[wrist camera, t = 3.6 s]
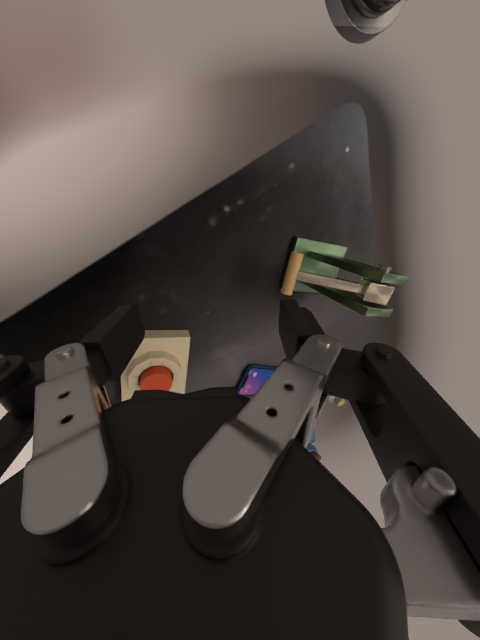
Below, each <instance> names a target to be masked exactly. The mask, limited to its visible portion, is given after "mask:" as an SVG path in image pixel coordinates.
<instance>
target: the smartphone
mask: <svg viewBox="0 0 480 640" xmlns="http://www.w3.org/2000/svg"><path fill="white" fill-rule="evenodd" d="M276 368H277V367H273V366H263V365H249V366H248V367H247V368H246V370H245V372H244V375H243V377H242V379H241V381H240V383H239V385H238V387H237V394H238V395H242V396H253V395H254V394H255V393H256V392H257V391H258V389H259V388H260V387H261V386H262V385H263V383H264V382H265V381H266V380H267V378H268V377H269V376H270V375H271V374H272V372H273V371H274V370H275V369H276Z"/></svg>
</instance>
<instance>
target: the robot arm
mask: <svg viewBox="0 0 480 640" xmlns="http://www.w3.org/2000/svg"><path fill="white" fill-rule="evenodd" d="M353 1H354V3H355V5H356V6H357V8H358V9H359V10H360V11H361V12H362V13H363V14H364V15H366V16H368V17H372V18H376V17H380V16H382V15H384V14H385V13H386V12H388V11H389V10H390V9H391V8H393V7H394V6H395V5H396V4H397V3H398V2H399V1H401V0H353ZM279 334H280V338H281V341H282V344H283V347H284V351H285V354H286V357H287V359H283V360H282V361H281V363H280V364H279V365H278V366H277V368H276V369H275V370H274V371H273V372H272V374H271V375H270V376H269V377H268V378H267V380H266V381H265V382H264V383H263V385H262V386H261V387H260V388H259V389H258V391H257V392H256V393H255V394H254V395H253V397H252V398H248V397H245V396H242V395H238V394H237V387H215V388H208V389H204V390H200V391H196V392H192V393H187V394H181V393H176V392H171V391H166V390H160V389H158V390H135V391H134V393H133V395H132V397H131V399H128V400H125V401H122V402H120V403H117V404H115V405H113V406H111V404H110V401H109V398H108V395H107V392H106V389H105V387H104V384H105V383H106V382H117V381H118V380H119V378H120V377H121V375H122V373H123V372H124V370H125V369H126V367H127V365H128V364H129V362H130V361H131V359H132V357H133V356H134V354H135V352H136V351H137V349H138V348H139V346H140V344H141V343H142V341H143V339H144V337H145V329H144V325H143V322H142V319H141V315H140V312H139V309H138V307H137V306H136V305H120V306H119V307H118V308H117V309H116V310H115V311H114V312H113V313H112V314H111V315H109V316H107V317H105V318H104V319H102V320H101V321H100V322H99V323H98V324H97V326H95V327H94V328H93V330H91V331H90V332H89V333H88V334H87V335H86V336H85V337H84V338H83V339H82V340H81V341H80V342H78V343H72V344H67V345H64V346H61V347H59V348H57V349H55V350H53V351H51V352H50V353H49V354H48V355H47V356H46V357H45V360H44V361H39V362H35V363H30V364H27V362H26V361H25V359H24V358H23V357H22V356H20V355H12V356H7V357H3V358H0V403H1V404H2V405H3V407H4V408H5V409H6V410H7V411H8V413H7V414H6V415H5V416H4V417H3V418H2V419H1V420H0V478H1V476H2V475H3V474H4V472H5V471H6V470H7V468H8V467H9V466H10V464H11V463H12V462H13V461H14V459H15V458H16V457H17V455H18V454H19V453H20V452H21V450H22V449H23V448H24V446H25V445H26V444H27V442H28V441H29V440H30V439H31V437H32V436H33V454H32V458H31V460H30V461H28V462H27V464H26V466H25V468H23V469H22V470H20V471H19V472H17V473H16V474H15V475H13V476H12V477H10V478H9V479H8V480H6V481H5V482H3V483H2V484H1V485H0V640H409V638H408V624H407V616H414V617H429V618H443V619H457V620H458V621H459V622H460V623H461V624H462V625H463V626H465V627H466V628H467V629H468V630H469V631H470V632H472V633H474V634H475V635H476V636H478V637H480V438H479V437H478V436H477V435H476V434H475V433H474V432H473V431H472V430H471V429H470V428H469V427H468V426H467V424H466V423H465V422H464V421H463V420H462V419H461V418H460V417H459V416H458V415H457V413H456V412H455V411H454V410H453V409H452V408H451V407H450V406H449V405H448V404H447V403H446V401H444V400H443V398H442V397H441V396H440V395H439V394H438V393H437V392H436V391H435V390H434V388H433V387H432V386H431V385H430V384H429V383H428V382H427V381H426V380H425V379H424V378H423V376H422V375H421V374H420V373H419V372H418V371H417V370H416V369H415V368H414V367H413V366H412V365H411V364H410V362H409V361H408V360H407V359H406V358H405V357H404V356H403V355H402V354H401V353H400V352H399V351H398V350H396V349H395V348H393V347H391V346H388V345H385V344H381V343H369V344H367V345H365V346H364V348H363V351H362V352H360V351H354V350H348V349H344V348H341V344H340V342H339V341H338V340H336V339H335V338H333V337H330V336H327V335H325V333H324V332H323V330H322V328H321V327H320V325H319V324H318V323H317V320H316V319H315V318H314V315H313V314H312V312H311V311H309V310H308V309H306V308H305V307H303V308H299V306H298V304H297V302H296V300H295V299H286V300H281V302H280V314H279ZM329 395H330V396H334V397H339V398H343V399H347V400H349V402H350V404H351V406H352V408H353V410H354V412H355V414H356V416H357V418H358V421H359V423H360V425H361V427H362V430H363V432H364V434H365V436H366V438H367V440H368V442H369V445H370V447H371V449H372V451H373V453H374V455H375V457H376V460H377V462H378V464H379V466H380V468H381V470H382V473H383V475H384V477H385V479H386V481H387V484H386V485H385V487H384V488H383V490H382V492H381V497H380V501H381V507H382V510H383V513H384V519H385V528H380V526H379V525H378V523H377V522H376V520H375V519H374V517H373V516H372V515H371V514H370V512H369V511H368V510H367V509H366V508H365V507H364V505H363V504H362V503H361V502H360V501H358V499H357V498H356V497H355V496H354V495H353V494H352V493H351V492H349V491H348V490H347V488H345V487H344V486H343V485H342V484H341V483H340V482H339V481H338V480H337V479H336V478H335V477H334V476H333V475H332V474H331V473H330V472H329V471H328V470H327V469H326V468H325V467H324V466H323V465H322V464H321V463H320V462H319V461H318V460H317V459H316V458H315V457H314V456H313V455H312V454H311V453H310V452H309V451H308V450H307V449H306V448H307V446H308V443H309V441H310V438H311V435H312V432H313V429H314V427H315V424H316V422H317V420H318V418H319V416H320V414H321V412H322V409H323V407H324V405H325V403H326V401H327V399H328V397H329Z"/></svg>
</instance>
